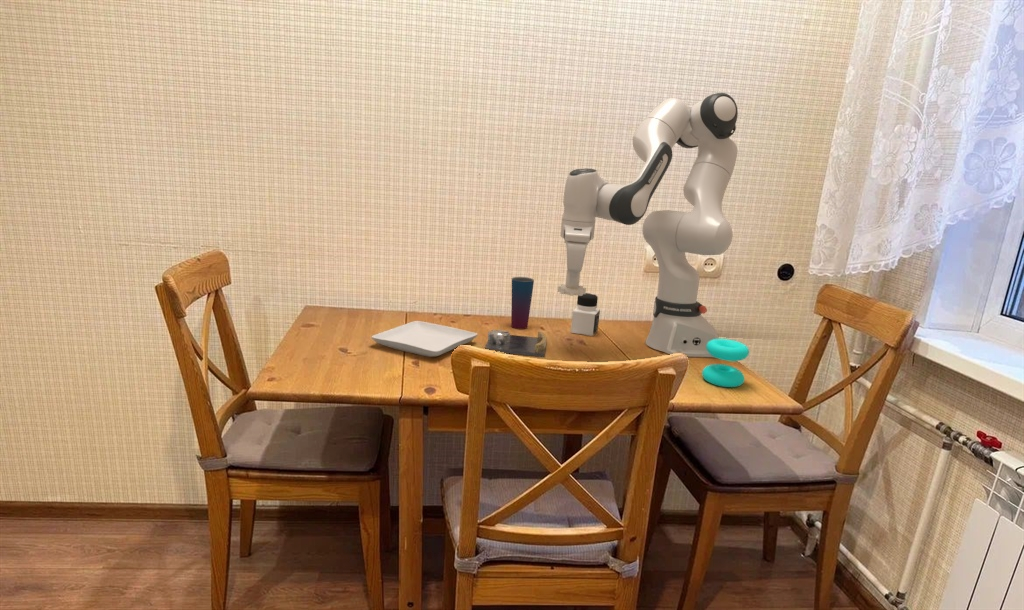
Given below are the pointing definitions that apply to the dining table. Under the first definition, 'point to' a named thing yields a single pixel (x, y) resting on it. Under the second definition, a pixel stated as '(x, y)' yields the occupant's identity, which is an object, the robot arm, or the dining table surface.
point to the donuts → (725, 373)
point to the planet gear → (571, 287)
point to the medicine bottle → (585, 315)
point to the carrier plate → (516, 343)
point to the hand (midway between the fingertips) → (572, 282)
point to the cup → (521, 301)
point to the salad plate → (424, 338)
